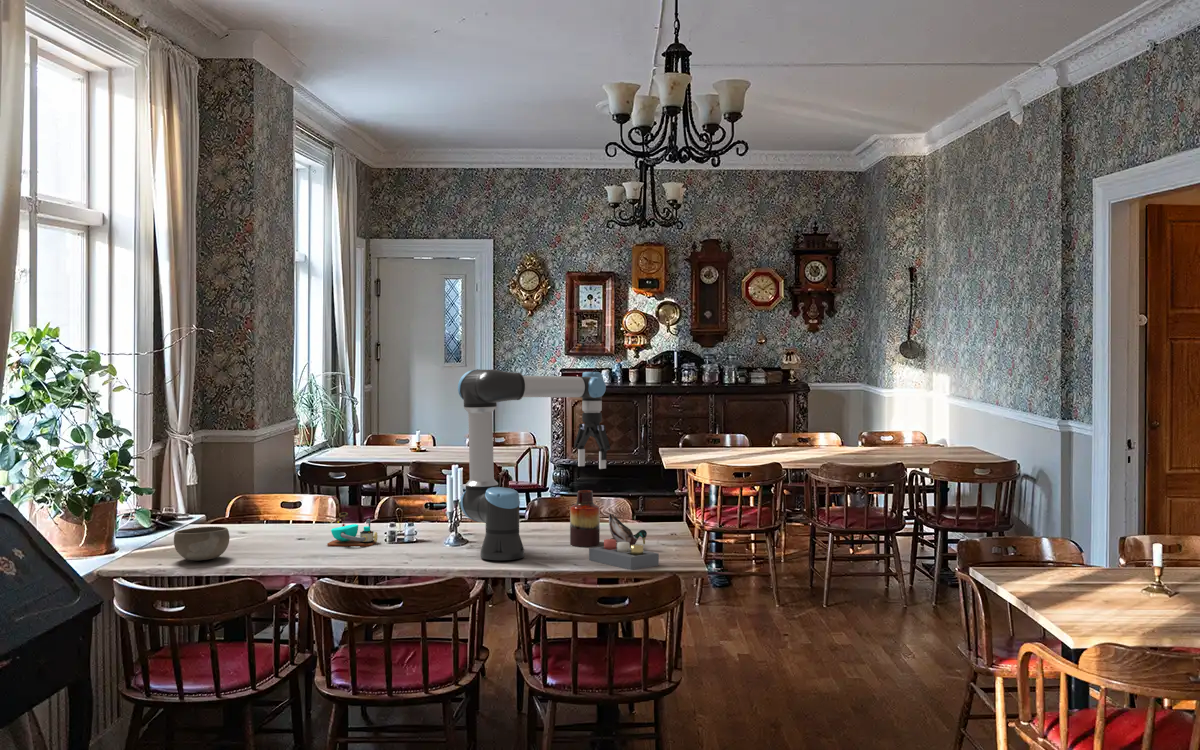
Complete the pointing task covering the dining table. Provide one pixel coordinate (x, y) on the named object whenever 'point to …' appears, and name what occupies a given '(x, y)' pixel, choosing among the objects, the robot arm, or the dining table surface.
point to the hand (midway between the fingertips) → (591, 467)
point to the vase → (584, 521)
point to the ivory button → (623, 547)
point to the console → (623, 558)
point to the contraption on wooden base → (352, 535)
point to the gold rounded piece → (636, 550)
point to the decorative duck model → (624, 532)
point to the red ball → (609, 544)
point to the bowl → (201, 542)
